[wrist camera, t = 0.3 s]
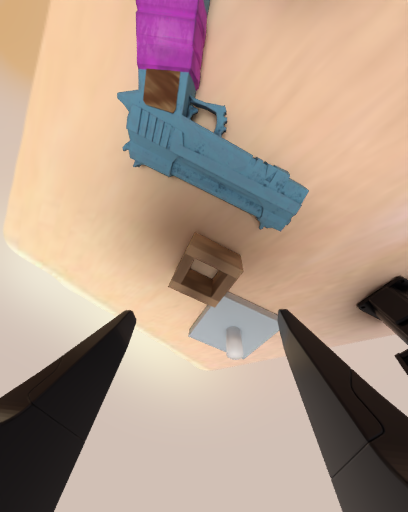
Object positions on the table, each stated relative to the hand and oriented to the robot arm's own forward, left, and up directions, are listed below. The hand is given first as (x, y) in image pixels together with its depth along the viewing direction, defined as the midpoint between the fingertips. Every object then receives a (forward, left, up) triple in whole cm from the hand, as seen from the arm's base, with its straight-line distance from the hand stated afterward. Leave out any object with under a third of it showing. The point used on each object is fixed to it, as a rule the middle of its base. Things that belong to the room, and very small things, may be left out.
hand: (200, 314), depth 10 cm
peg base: (-11, +13, -13) cm, 21 cm away
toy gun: (+4, -11, -14) cm, 18 cm away
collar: (-1, +4, -13) cm, 14 cm away
